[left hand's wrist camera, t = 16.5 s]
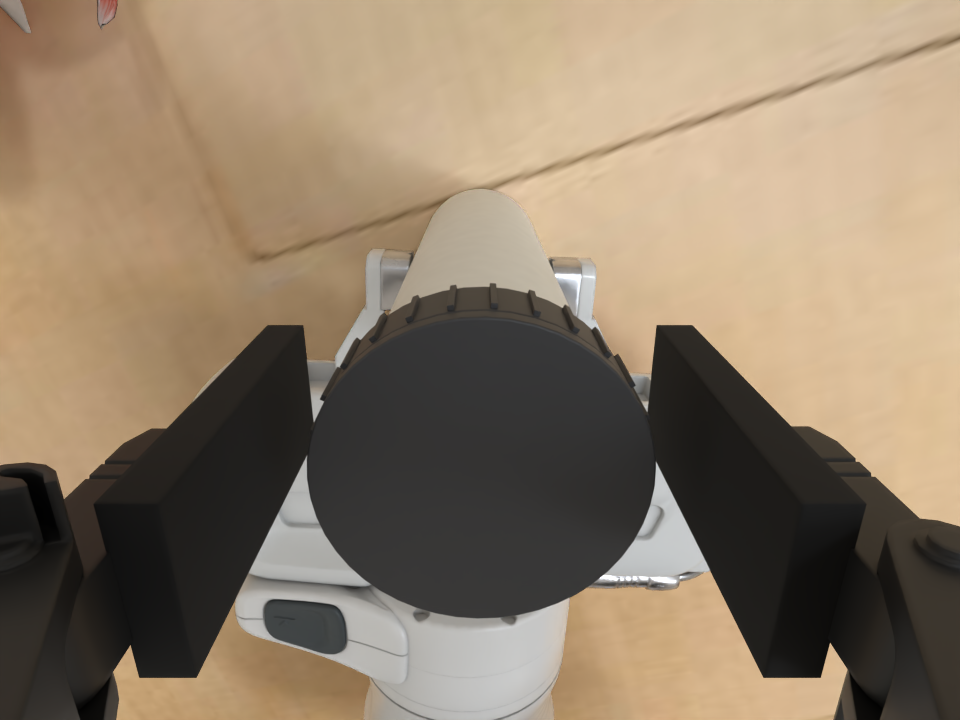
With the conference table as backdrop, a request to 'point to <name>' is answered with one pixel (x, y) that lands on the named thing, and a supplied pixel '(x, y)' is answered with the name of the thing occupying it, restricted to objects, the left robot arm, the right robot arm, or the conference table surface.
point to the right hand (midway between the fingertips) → (480, 256)
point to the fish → (15, 10)
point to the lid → (481, 454)
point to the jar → (480, 250)
